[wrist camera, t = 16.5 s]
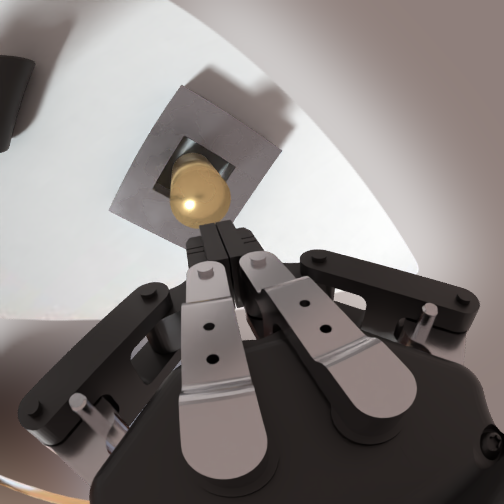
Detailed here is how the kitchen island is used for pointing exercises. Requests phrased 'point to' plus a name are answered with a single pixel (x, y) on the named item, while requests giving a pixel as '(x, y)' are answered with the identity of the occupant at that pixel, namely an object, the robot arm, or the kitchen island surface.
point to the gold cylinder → (198, 191)
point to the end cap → (11, 93)
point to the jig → (207, 135)
